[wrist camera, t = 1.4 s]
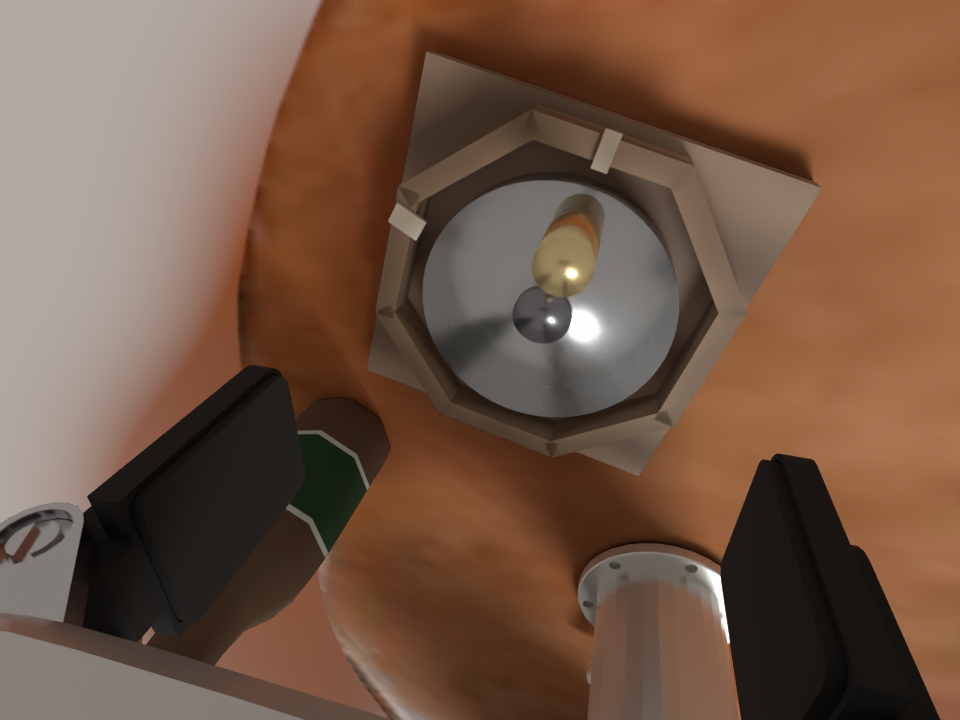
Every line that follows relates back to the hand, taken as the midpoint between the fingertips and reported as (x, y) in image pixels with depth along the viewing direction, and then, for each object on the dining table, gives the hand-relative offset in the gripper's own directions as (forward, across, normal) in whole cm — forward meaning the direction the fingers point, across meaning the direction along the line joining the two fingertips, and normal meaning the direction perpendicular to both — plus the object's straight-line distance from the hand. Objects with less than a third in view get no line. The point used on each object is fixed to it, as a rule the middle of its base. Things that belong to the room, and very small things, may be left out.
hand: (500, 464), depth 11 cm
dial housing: (+22, +2, +6) cm, 23 cm away
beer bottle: (+22, +17, +20) cm, 34 cm away
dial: (+20, +2, +5) cm, 21 cm away
